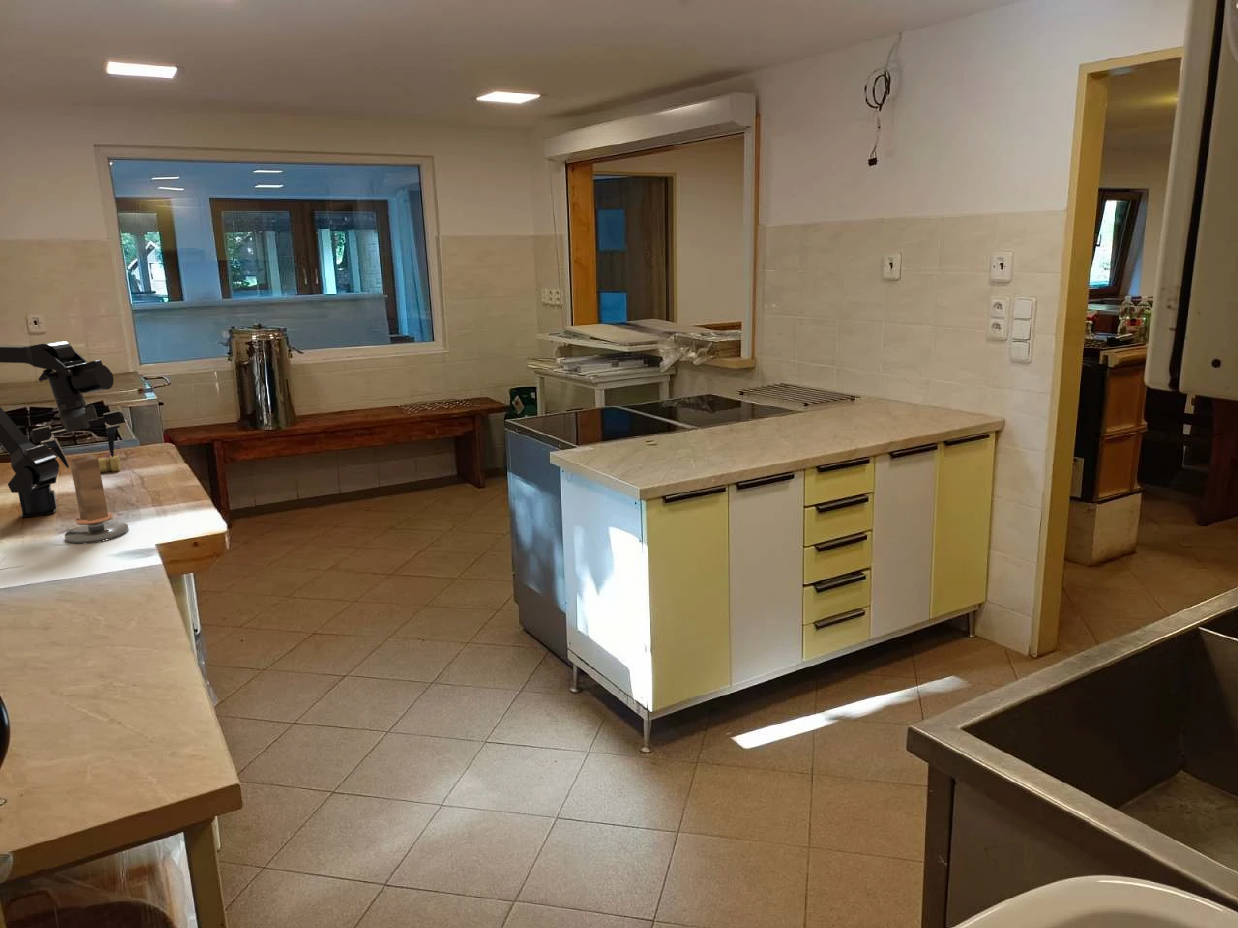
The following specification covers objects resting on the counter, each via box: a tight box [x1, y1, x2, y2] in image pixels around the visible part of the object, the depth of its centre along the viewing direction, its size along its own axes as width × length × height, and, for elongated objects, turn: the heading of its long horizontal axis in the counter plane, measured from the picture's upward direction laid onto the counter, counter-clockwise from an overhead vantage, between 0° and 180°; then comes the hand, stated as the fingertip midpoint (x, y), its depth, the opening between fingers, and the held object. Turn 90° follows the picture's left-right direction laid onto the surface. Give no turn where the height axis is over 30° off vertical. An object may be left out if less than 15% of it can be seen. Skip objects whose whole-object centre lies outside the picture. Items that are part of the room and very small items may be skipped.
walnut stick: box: [69, 455, 108, 521], centre depth 190 cm, size 4×4×13 cm
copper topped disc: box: [64, 511, 129, 545], centre depth 192 cm, size 12×12×4 cm
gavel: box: [97, 452, 122, 473], centre depth 255 cm, size 21×5×10 cm
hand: (90, 462), depth 205 cm, fingers open, 9 cm apart
